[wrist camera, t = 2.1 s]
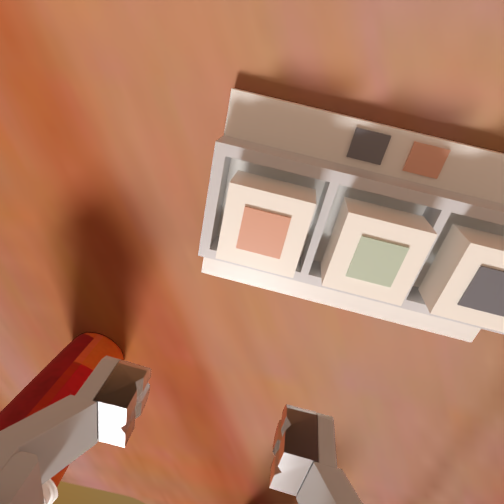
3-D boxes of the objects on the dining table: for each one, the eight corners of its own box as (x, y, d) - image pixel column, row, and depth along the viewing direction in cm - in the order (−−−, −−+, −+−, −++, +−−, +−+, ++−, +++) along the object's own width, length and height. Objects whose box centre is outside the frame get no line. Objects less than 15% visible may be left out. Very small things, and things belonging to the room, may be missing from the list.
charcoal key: (533, 243, 24) (563, 266, 21) (490, 307, 26) (512, 335, 24) (452, 223, 24) (471, 243, 21) (418, 289, 26) (430, 314, 24)
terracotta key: (315, 189, 24) (316, 204, 21) (294, 257, 27) (293, 279, 24) (238, 169, 24) (228, 183, 22) (224, 239, 27) (215, 259, 24)
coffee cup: (65, 369, 41) (-51, 510, 28) (61, 315, 37) (-76, 449, 24) (133, 388, 41) (49, 539, 28) (137, 335, 37) (41, 482, 24)
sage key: (423, 216, 24) (438, 235, 21) (391, 282, 27) (401, 307, 24) (344, 196, 24) (348, 213, 21) (320, 264, 27) (321, 286, 24)
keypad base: (575, 170, 24) (614, 185, 21) (466, 334, 31) (484, 363, 28) (234, 87, 25) (223, 90, 22) (204, 266, 32) (193, 287, 29)
